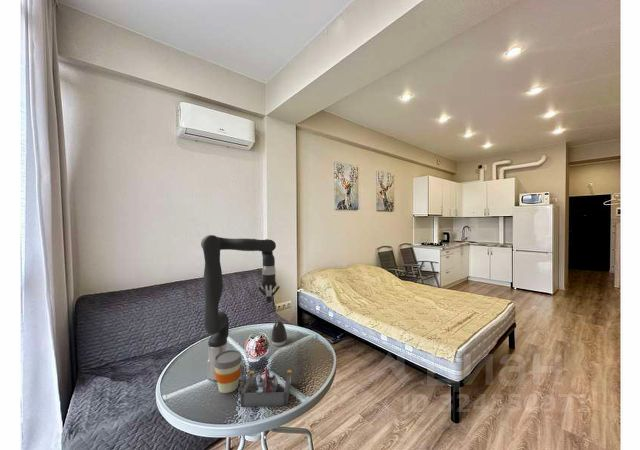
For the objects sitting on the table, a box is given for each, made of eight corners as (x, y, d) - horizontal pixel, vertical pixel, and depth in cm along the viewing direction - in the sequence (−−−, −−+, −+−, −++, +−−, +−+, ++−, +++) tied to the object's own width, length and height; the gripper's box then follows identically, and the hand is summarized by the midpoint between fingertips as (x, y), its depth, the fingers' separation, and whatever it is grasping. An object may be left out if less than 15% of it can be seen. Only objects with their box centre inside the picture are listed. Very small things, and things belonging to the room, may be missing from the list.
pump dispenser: (281, 339, 173) (280, 316, 173) (290, 344, 165) (289, 321, 165) (268, 344, 166) (267, 321, 166) (276, 350, 158) (276, 325, 158)
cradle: (240, 406, 110) (240, 393, 110) (250, 382, 127) (250, 370, 127) (287, 405, 110) (287, 392, 110) (291, 381, 127) (291, 370, 127)
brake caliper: (281, 390, 115) (262, 373, 113) (264, 408, 114) (244, 391, 113) (282, 374, 126) (265, 358, 125) (266, 391, 125) (249, 374, 124)
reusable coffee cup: (214, 398, 115) (214, 365, 115) (214, 382, 127) (213, 353, 127) (243, 391, 120) (243, 359, 120) (240, 376, 132) (239, 347, 132)
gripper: (256, 274, 147) (256, 304, 147) (279, 274, 147) (279, 304, 147) (259, 272, 155) (259, 300, 155) (281, 271, 155) (281, 300, 155)
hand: (269, 302), depth 151 cm, fingers closed
